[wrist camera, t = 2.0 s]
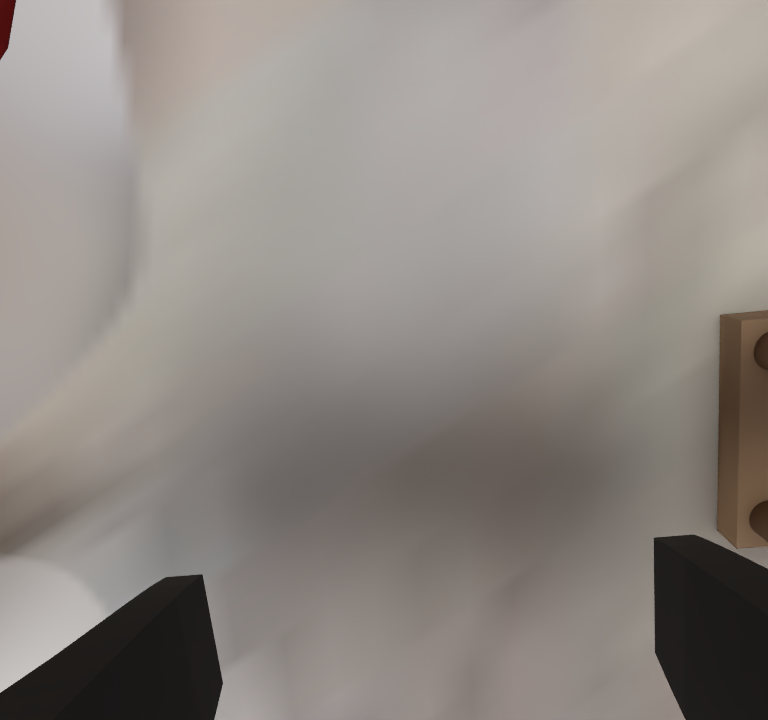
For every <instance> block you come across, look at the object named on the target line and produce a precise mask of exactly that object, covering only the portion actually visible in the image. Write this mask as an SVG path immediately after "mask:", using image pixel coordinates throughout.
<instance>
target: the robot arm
mask: <svg viewBox="0 0 768 720" xmlns="http://www.w3.org/2000/svg"><path fill="white" fill-rule="evenodd" d="M654 595H655V653H656V656H657V658H658V660H659V662H660V665H661V667H662V669H663V671H664V674H665V676H666V678H667V681H668V683H669V685H670V687H671V690H672V692H673V694H674V696H675V698H676V700H677V702H678V704H679V707H680V709H681V711H682V713H683V715H684V717H685V719H686V720H768V569H767V568H765V567H763V566H761V565H759V564H757V563H755V562H753V561H751V560H749V559H747V558H745V557H743V556H741V555H738V554H736V553H734V552H732V551H730V550H728V549H726V548H724V547H722V546H720V545H718V544H715V543H713V542H711V541H709V540H706V539H704V538H701V537H699V536H696V535H683V536H671V537H658V538H654ZM222 685H223V682H222V676H221V671H220V666H219V660H218V655H217V650H216V644H215V639H214V634H213V628H212V623H211V618H210V613H209V607H208V602H207V597H206V591H205V586H204V581H203V575H202V574H201V575H189V576H176V577H166V578H164V579H162V580H161V581H159V582H157V583H155V584H154V585H152V586H151V587H149V588H148V589H146V590H145V591H143V592H142V593H141V594H139V595H138V596H136V597H135V598H133V599H132V600H131V601H129V602H128V603H126V604H125V605H124V606H122V607H121V608H120V609H118V610H117V611H115V612H114V613H113V614H111V615H110V616H109V617H107V618H106V619H105V620H103V621H102V622H100V623H99V624H98V625H96V626H95V627H94V628H92V629H91V630H89V631H88V632H87V633H86V634H84V635H83V636H81V637H80V638H78V639H77V640H76V641H75V642H73V643H72V644H70V645H69V646H68V647H66V648H65V649H64V650H62V651H61V652H59V653H58V654H57V655H55V656H54V657H52V658H51V659H49V660H48V661H47V662H45V663H44V664H42V665H41V666H39V667H38V668H36V669H35V670H33V671H32V672H30V673H29V674H27V675H26V676H25V677H23V678H22V679H20V680H19V681H17V682H16V683H14V684H13V685H11V686H10V687H8V688H7V689H5V690H4V691H2V692H1V693H0V720H214V718H215V714H216V710H217V706H218V701H219V697H220V693H221V689H222Z"/></svg>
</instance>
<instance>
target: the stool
mask: <svg viewBox="0 0 768 720" xmlns="http://www.w3.org/2000/svg"><path fill="white" fill-rule="evenodd" d="M717 531H718V532H720V533H721V534H722V535H723V536H724V537H725V538H726V539H727V540H728V541H729V542H730V543H731V544H732V545H733V546H734V547H735V548H736V549H738V548H751V547H764V546H768V310H767V311H757V312H747V313H737V314H726V315H720V373H719V445H718V516H717Z"/></svg>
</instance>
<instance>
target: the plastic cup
mask: <svg viewBox="0 0 768 720" xmlns="http://www.w3.org/2000/svg"><path fill="white" fill-rule="evenodd" d="M15 3H16V0H0V59H1V58H2V56H3V55H4V53H5V52H6V50H7V49H8V44H9V38H10V33H11V27H12V20H13V15H14V9H15Z"/></svg>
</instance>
